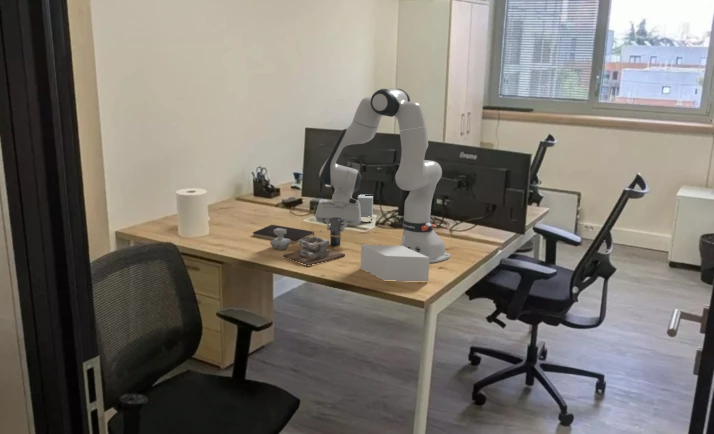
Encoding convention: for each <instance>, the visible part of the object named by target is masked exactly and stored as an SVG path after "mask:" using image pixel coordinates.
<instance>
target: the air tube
mask: <svg viewBox="0 0 714 434" xmlns="http://www.w3.org/2000/svg"><path fill="white" fill-rule="evenodd" d="M341 224H342V223H341V218H337V217H332V218H331V222H330V225H331V230H329V231H330V233H329V237H330V239H329V246H330V247H340V246H341V236H342V235H341V232H342V231H340V226H342V225H341Z"/></svg>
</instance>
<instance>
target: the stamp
mask: <svg viewBox="0 0 714 434" xmlns="http://www.w3.org/2000/svg"><path fill="white" fill-rule="evenodd" d="M274 233H275V235H277V236H278V238H275V239H270V242H269V244H270V246H271V247H272V248H273V249H276V248H277V249H278V250H284V249H286V248H288V247H289V245H290V244H292V243H291V240H290V239H287V238H284V237H283V236H284V235H285V234H286V229H281V228H277V229H275V230H274ZM277 249H276V250H277Z"/></svg>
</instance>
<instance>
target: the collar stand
mask: <svg viewBox="0 0 714 434" xmlns="http://www.w3.org/2000/svg"><path fill="white" fill-rule="evenodd" d="M298 244H299V246H301V249H299V250H297V251H292V252H289V253H286V254H282V255H283V256H282V257H283V258H284V257H285V258H284V259H286V258H289V259H291V260H290V261H292V260H294V261H297V262H300V263H303V264H306V265H312V264H317V263H321V262H324V263H326V262H325V261H328V262H330V261H329V260H331V261H333V260H332V259H334V260H337V259H336V258H338V259H341V258H345V257H346V253H343V252H339V251H338V250H337V251H336V250H334V249H331V248H328V247H329V246H330V240H328V239H324V238H321V237H319V236H315V235H314V236H310V237H305V238H302V240H299V242H298ZM344 256H345V257H344ZM340 257H341V258H340ZM289 259H288V260H289ZM294 261H293V262H294ZM297 262H296V263H297ZM300 263H299V264H300ZM321 264H322V263H321ZM317 265H318V264H317Z"/></svg>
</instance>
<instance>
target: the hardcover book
mask: <svg viewBox="0 0 714 434" xmlns="http://www.w3.org/2000/svg"><path fill="white" fill-rule="evenodd" d="M277 228H281V229H286V234H285V235H284V236H283V237H284V238H287V239H290V240H291V243H290V244H299V240H302V238H305V237H310V238H311V237H314V236H315V231H311V230H306V229H301V228H300V229H299V228H295V227H288V226H283V225H276V224H270V225H268V226H265V227H262V228H260V229H258V230H255V231H253V232H252V234H253V236H254V237H258V238H263V239H269V240H273V239H275V238H278V236H277V235H275V233H274V230H275V229H277Z"/></svg>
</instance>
